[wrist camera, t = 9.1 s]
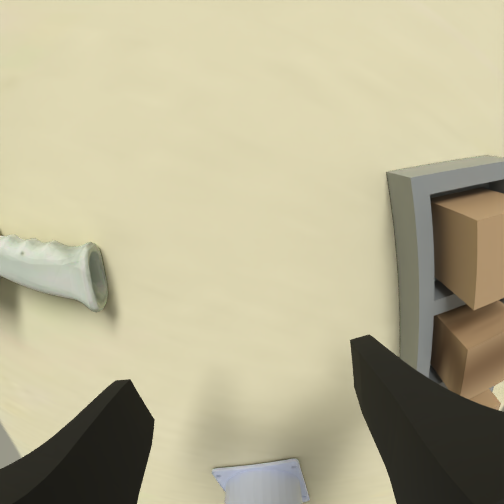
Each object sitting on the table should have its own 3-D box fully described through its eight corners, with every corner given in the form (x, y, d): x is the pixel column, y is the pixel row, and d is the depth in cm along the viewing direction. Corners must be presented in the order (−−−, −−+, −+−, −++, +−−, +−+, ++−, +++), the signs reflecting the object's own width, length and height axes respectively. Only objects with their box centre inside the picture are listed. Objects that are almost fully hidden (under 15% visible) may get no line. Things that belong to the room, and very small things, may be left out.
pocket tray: (468, 400, 23) (496, 441, 17) (395, 430, 23) (416, 480, 17) (487, 155, 16) (551, 165, 10) (386, 171, 16) (443, 186, 11)
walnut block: (476, 337, 19) (511, 375, 14) (427, 359, 19) (458, 404, 15) (480, 286, 18) (523, 320, 13) (428, 307, 18) (467, 349, 13)
